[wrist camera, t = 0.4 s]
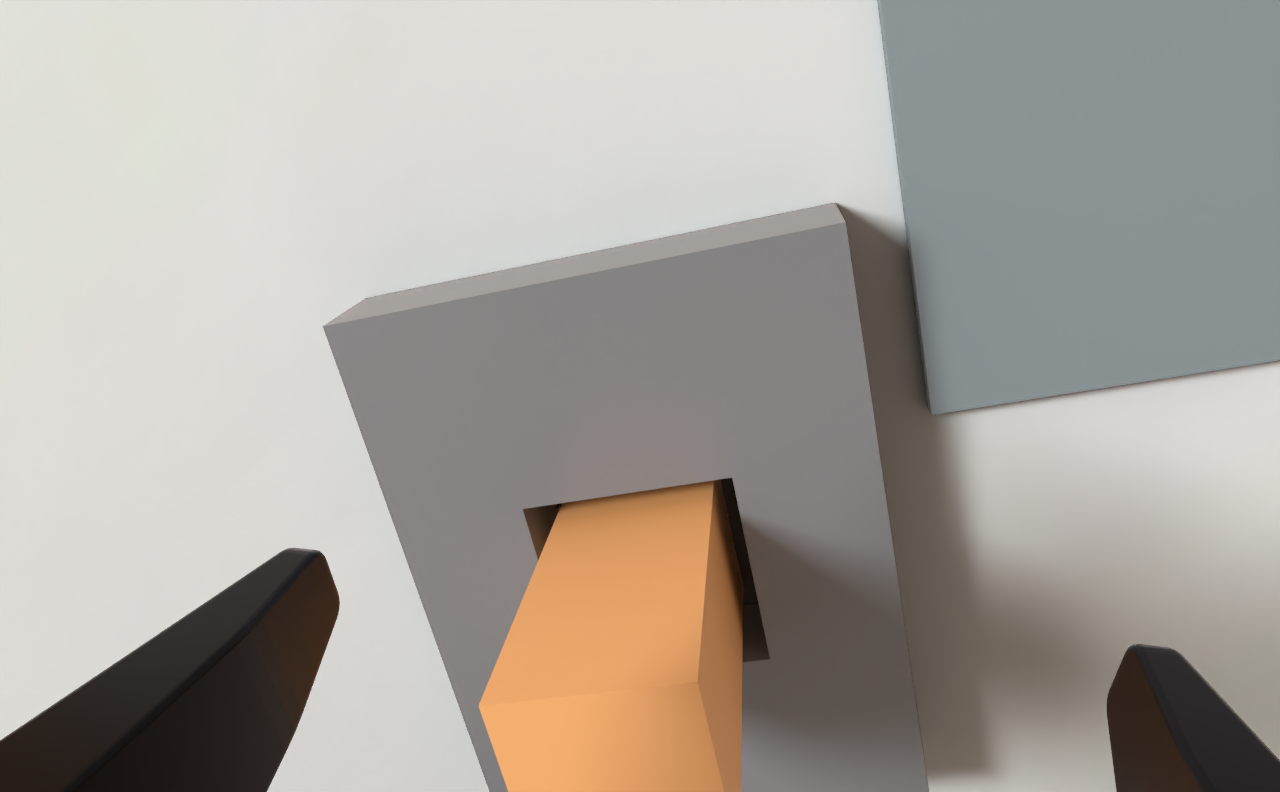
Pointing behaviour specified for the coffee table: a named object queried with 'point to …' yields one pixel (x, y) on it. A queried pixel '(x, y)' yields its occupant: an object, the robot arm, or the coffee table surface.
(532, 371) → the holder
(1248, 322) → the mat
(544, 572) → the orange block
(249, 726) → the robot arm
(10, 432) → the coffee table surface
